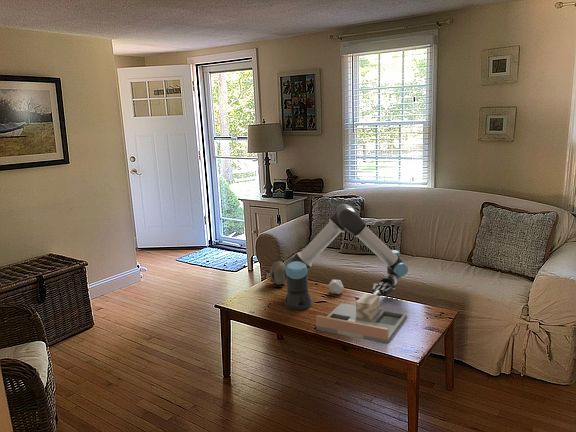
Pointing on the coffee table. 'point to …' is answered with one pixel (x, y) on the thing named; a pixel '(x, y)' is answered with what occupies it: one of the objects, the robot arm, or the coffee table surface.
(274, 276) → the decorative egg
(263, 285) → the coffee table surface
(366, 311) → the block
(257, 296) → the coffee table surface
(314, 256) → the robot arm
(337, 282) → the die
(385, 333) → the box
